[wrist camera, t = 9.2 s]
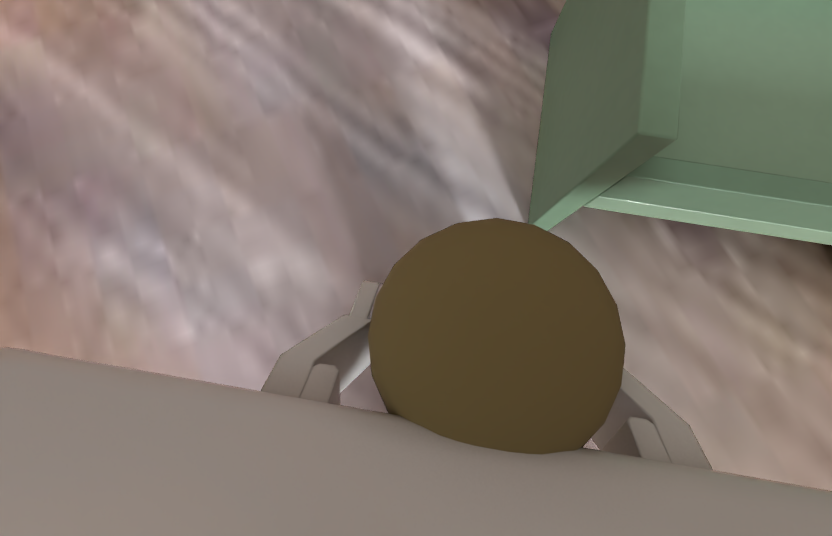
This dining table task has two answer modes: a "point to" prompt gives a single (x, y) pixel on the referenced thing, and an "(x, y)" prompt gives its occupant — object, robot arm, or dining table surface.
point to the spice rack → (690, 114)
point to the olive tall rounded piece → (498, 339)
